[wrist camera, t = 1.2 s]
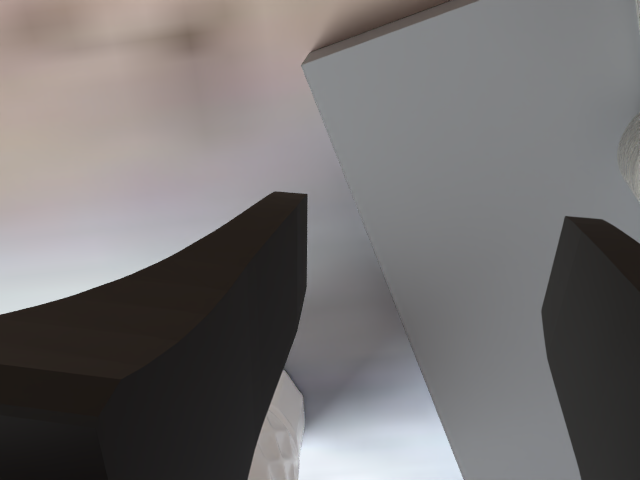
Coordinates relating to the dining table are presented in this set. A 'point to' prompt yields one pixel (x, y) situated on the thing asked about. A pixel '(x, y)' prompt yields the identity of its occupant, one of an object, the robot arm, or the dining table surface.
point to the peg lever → (631, 147)
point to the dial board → (484, 194)
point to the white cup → (280, 435)
